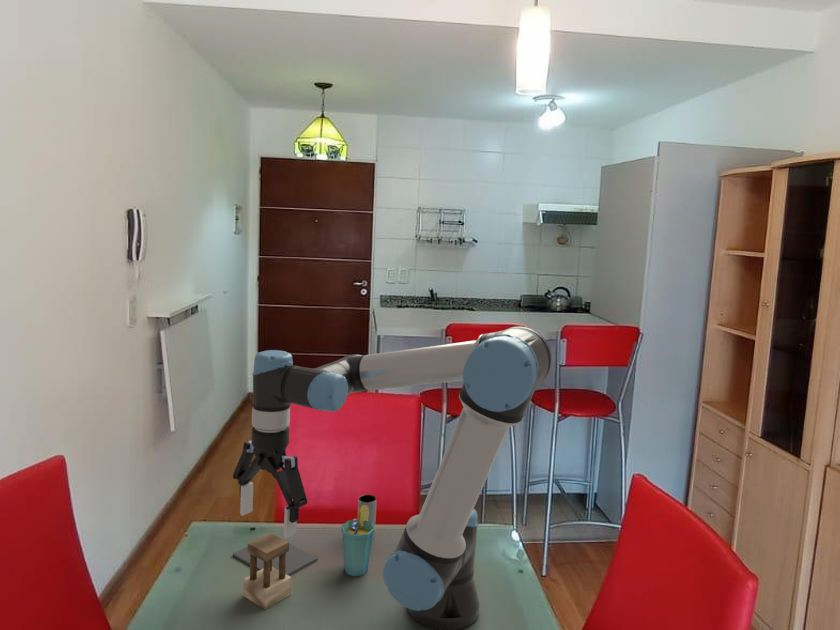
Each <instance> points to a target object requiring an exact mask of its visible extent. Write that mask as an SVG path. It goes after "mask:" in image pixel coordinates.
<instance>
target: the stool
mask: <svg viewBox="0 0 840 630" xmlns="http://www.w3.org/2000/svg"><path fill="white" fill-rule="evenodd" d="M289 543H290V542H289V541H288V540H287V539H286V540H285V539H283V538H282V537H279V536H278V535H275V534H273V533H271V532H268V533H266V534H265V535H263V536H261V537H260V536H259V537H258V538H255V539H254V540H251V541H250V542H247V547H248V551H247V552H248V553H250V565H249V576H250V580H256V579H257V571H258V570H257V558H259V559H261V560H263V561H264V567H263V587H264V588H268V587H270V572H271V571H272V559H274V558H276V557H278V556H279V579H285V573H286V552H288V551H289Z"/></svg>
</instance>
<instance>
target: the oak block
mask: <svg viewBox="0 0 840 630" xmlns="http://www.w3.org/2000/svg"><path fill="white" fill-rule="evenodd" d="M242 590H243V591H242V592H243V593H242V594H243V595H242V596H243V597H244V598H246V599H248V600H249V601H251V602H253V603H254V604H255V605H257V606H259V607H261V608H262V609H264V610H267V609H268V608H271V607H272V606H274V605H275V604H277V603H279V602H281V601H283V600H284V599H286V598H287V597H289V596H291V595H292V576H291V575H290V576H288V575H287V574H285V579H279V570H277V569H276V568H274V567H272V571H271V572H270V587H268V588H264V587H263V569H261V570H257V579H256V580H250V575H248V576H246V577H244V578H243V589H242Z"/></svg>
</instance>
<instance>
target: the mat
mask: <svg viewBox="0 0 840 630" xmlns="http://www.w3.org/2000/svg"><path fill="white" fill-rule="evenodd" d="M247 551H248V546H245V547H244V548H242V549H239V550H238V551H236V552H233V553H232V557H234V558H235V559H237V560H239V561H241V562H242V563H244V564H246V565H249V566H250V553H248V552H247ZM318 560H319V557H317V556H315V555H314V554H312V553H309V552H308V551H306V550H303V549H302V548H299V547H298V546H296V545H294V544H291V543H290V542H289V551H288V552H286V573H285V574H287V575H288V576H290V577H291V576H292V575H294V574H296V573H297V572H299V571H301V570H302V569H304V568H306V567H308V566H310V565H312V564H313V563H315V562H317V561H318ZM263 567H264V561H263V560H261V559H259V558H257V571H259V570H261V569H263ZM272 567H274V568H276V569H277V570H279V556H278V557H276V558H274V559H272Z"/></svg>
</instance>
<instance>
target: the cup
mask: <svg viewBox="0 0 840 630" xmlns="http://www.w3.org/2000/svg"><path fill="white" fill-rule="evenodd" d="M368 518H369V507H368V506H366V505H362V507H361V509H360V511H359V514H358V513H357V518H353V519H350V520H347V521H346V522H345V523H343V524H342V525H341V527H340V529H341V533H342V543H343V560H344V561H343V567H344V571H345V574H346V575H349V576H352V577H359V576H360V577H361V576H364V575H365V574H366V573H367V572H368V570H369V563H370V557H371V550H372V544H373V543H372V542H373V539H372V536H373V534H374V531H375V532H376V527H375V528H374V527H373V525H372V523H371V522H368Z"/></svg>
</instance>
